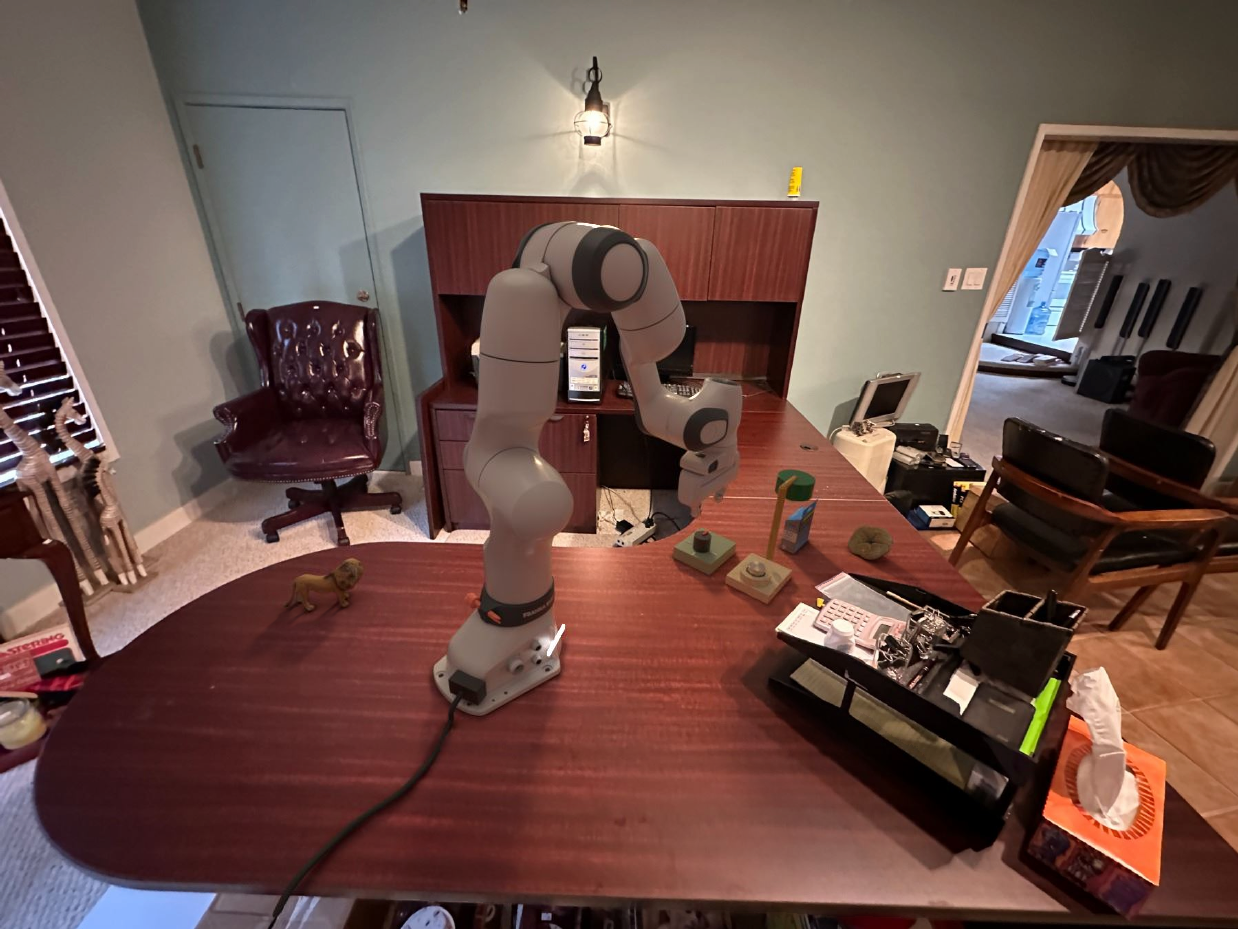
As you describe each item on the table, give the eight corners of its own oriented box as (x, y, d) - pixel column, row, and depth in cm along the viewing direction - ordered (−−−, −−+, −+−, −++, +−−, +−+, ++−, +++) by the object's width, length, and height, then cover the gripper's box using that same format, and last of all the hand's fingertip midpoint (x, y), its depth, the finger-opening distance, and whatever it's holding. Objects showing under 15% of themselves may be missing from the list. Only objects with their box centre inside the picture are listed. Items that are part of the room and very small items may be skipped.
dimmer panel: (708, 575, 111) (710, 564, 110) (672, 557, 117) (673, 546, 115) (734, 553, 119) (736, 542, 118) (699, 537, 125) (701, 526, 124)
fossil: (857, 520, 125) (898, 530, 117) (863, 528, 127) (903, 539, 119) (842, 550, 123) (882, 562, 115) (848, 558, 125) (888, 571, 117)
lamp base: (767, 604, 103) (770, 588, 101) (724, 583, 109) (727, 568, 107) (790, 578, 111) (793, 563, 110) (750, 560, 117) (752, 545, 115)
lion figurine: (369, 587, 102) (362, 551, 99) (367, 603, 98) (359, 566, 94) (287, 601, 98) (276, 563, 94) (281, 619, 93) (269, 580, 89)
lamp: (784, 567, 108) (801, 492, 101) (751, 552, 113) (764, 479, 105) (804, 545, 117) (821, 474, 109) (773, 532, 121) (787, 463, 113)
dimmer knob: (703, 555, 113) (705, 541, 111) (689, 548, 115) (690, 534, 114) (712, 547, 116) (714, 534, 114) (698, 541, 118) (700, 527, 116)
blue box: (793, 534, 128) (803, 492, 123) (808, 540, 126) (818, 498, 121) (778, 548, 122) (788, 504, 117) (793, 555, 120) (804, 510, 115)
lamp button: (759, 579, 104) (760, 573, 104) (744, 572, 107) (745, 566, 106) (766, 572, 107) (768, 565, 106) (751, 565, 109) (753, 558, 108)
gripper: (725, 435, 114) (718, 488, 120) (675, 461, 100) (669, 520, 106) (750, 443, 111) (741, 497, 117) (701, 471, 96) (694, 531, 102)
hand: (707, 508), depth 111 cm, fingers open, 8 cm apart
